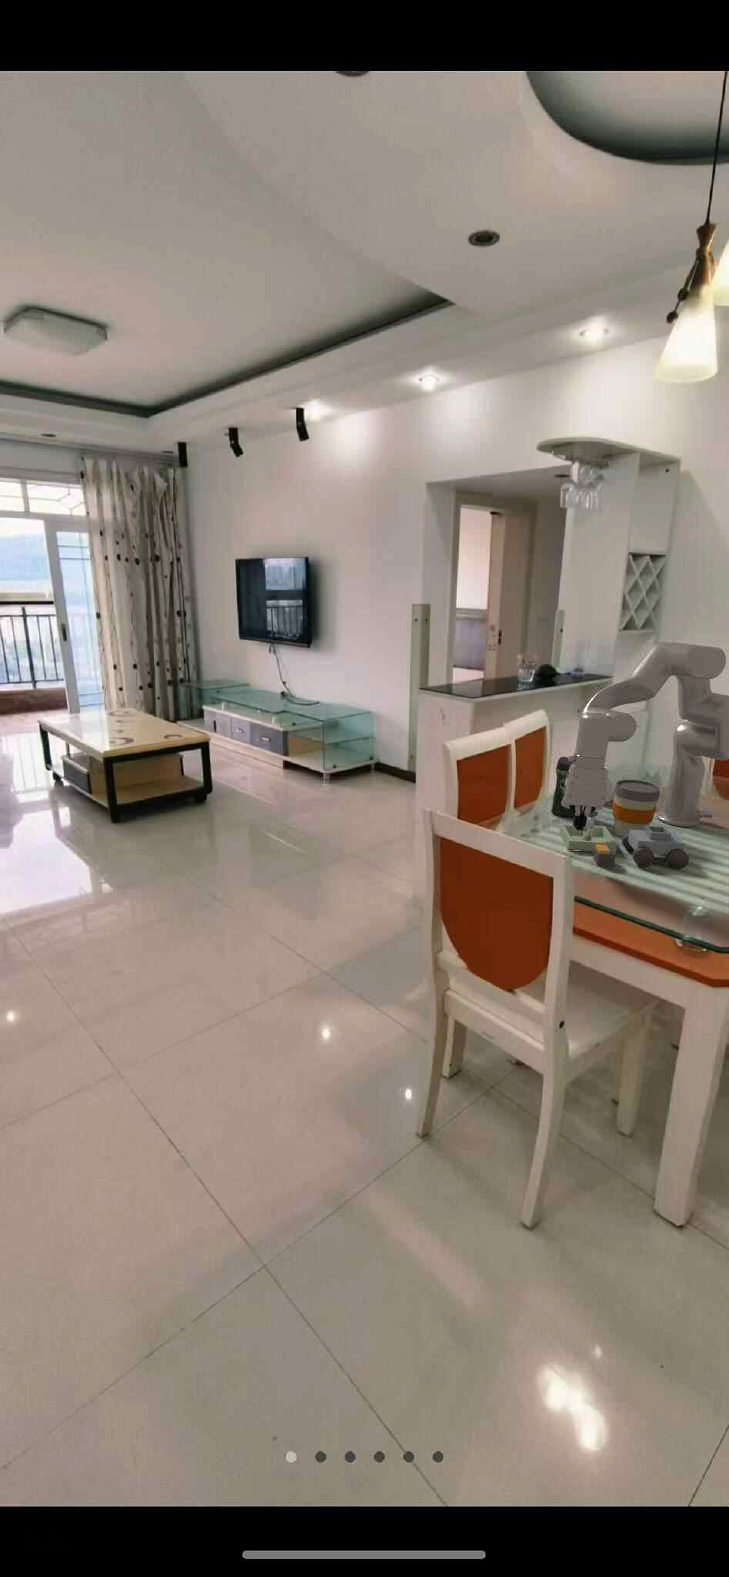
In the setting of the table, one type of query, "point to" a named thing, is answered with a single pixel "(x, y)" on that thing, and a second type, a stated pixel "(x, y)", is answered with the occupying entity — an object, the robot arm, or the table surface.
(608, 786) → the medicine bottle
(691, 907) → the table surface
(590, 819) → the pin
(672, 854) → the toy car
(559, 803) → the coffee jar
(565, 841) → the tray
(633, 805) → the reusable coffee cup
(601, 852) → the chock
